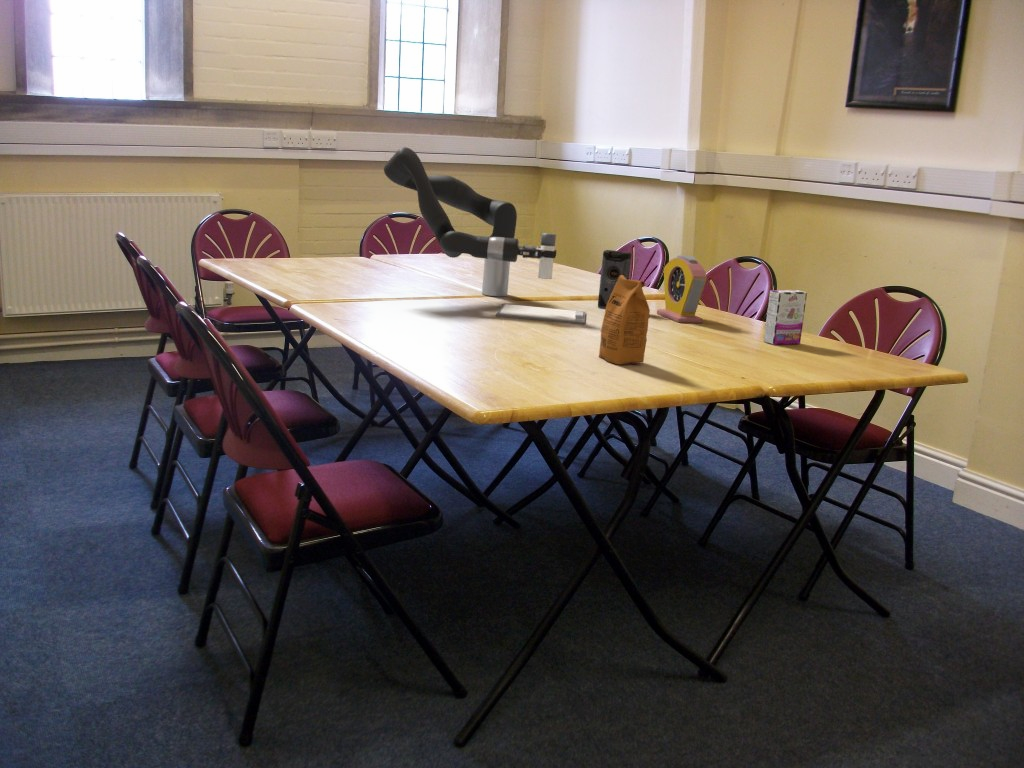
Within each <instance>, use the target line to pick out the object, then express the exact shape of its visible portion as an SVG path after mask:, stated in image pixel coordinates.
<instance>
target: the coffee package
mask: <svg viewBox="0 0 1024 768" xmlns="http://www.w3.org/2000/svg"><path fill="white" fill-rule="evenodd" d="M645 286H646V284H645V282H644V281H643V280H636V279H630V278H629V279H628V280H627V279H626V278H625V277H624V276H623V275H620V276H619V278H618V281H617V283H616V285H615V286H614V289H613V291H612V293H611V295H610V298H609V300H608V303H607V306H606V309H604V315H603V318H602V319H603V320H602V324H601V328H600V343H599V352H598V353H599V354H598V358H602V359H604V360H605V361H606V362H607V363H611V364H615V365H619V366H621V365H622V366H623V365H627V364H638V363H644V360H645V353H646V346H647V341H648V340H647V336H648V335H647V333H648V331H649V330H648V327H649V318H650V311H651V310H650V307H649V303H648V300H647V298H646V296H645V294H644V290H643V287H644V288H645Z"/></svg>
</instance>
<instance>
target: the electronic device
mask: <svg viewBox="0 0 1024 768" xmlns="http://www.w3.org/2000/svg"><path fill="white" fill-rule="evenodd" d="M631 259H632V252H629V251H621V250H613V249H612V250H611V249H605V250H603V252H602V260H601V270H600V279H599V289H598V300H597V308H598V309H603V310H606V306H607V303H608V300H609V298H610V295H611V293H612V291H613V289H614V286H615V285H616V283H617V281H618V278H619V276H620V275H623V276H624V277H625V278H626V279H627V280H628V279H629V280H630V274H631V262H632V261H631Z"/></svg>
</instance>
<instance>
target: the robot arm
mask: <svg viewBox="0 0 1024 768" xmlns="http://www.w3.org/2000/svg"><path fill="white" fill-rule="evenodd" d="M383 172H384V175H385V176H386V177H387V179H388V180H390V181H391V182H392V183H394V184H397V185H399V186H401V187H404V188H407V189H410V190H412V191H416V193H417V200H418V208H419V211H420V214H421V216H422V218H423V220H424V221H425V223H426V224H427V227H429V229H430V230H431V232H432V233H433V235H434V237H435V238H436V240H437V242H438V244H439V246H440V248H441V250H442V251H443V253H444V254H445V255H446V256H447V257H449V258H452V259H453V258H458V257H460V256H461V255H463V254H466V255H469V256H471V257H473V258H476V259H483V260H484V263H483V275H482V286H481V287H482V289H481V294H482V295H484V296H485V295H486V296H490V297H491V296H492V297H507V296H508V292H509V279H510V269H511V268H510V266H511V263H515V262H517V260H518V256H521V257H522V258H523V259H529V258H530V259H540V258H543V256H544V257H545V258H554V259H555V258H556V256H557V250H556V249H554V251H547V250H543V249H541V246H540V247H539V246H538V245H530V244H524V245H523V246H520V245H519V243H520V241H519V239H518V238H516V237H515V235H516V228H517V219H518V215H517V214H518V213H517V209H516V206H515V205H514V204H513V203H511V202H508V201H504V200H499V199H498V200H496V199H492V198H489V197H486V196H484V195H481V194H480V193H477V191H475V190H474V189H473V188H472V187H471V186H470V185H468V184H467V183H465V181H461V180H460V179H458V178H456V177H454V176H452V175H445V174H433V175H432V174H431V175H427V172H426V170H425V167H424V164H423V163H422V160H421V159H420V157H419V155H418V154H417V152H416V151H414V150H412V148H409V147H407V146H403V147H400V148H399V149H398V150H396V152H395V153H394V154H393V155H392V157H390V158H389V160H388V161H387V162H386V164H385V165H384V167H383ZM440 202H441V203H443V204H445V205H448V206H449V207H451V208H452V207H453V208H455V209H456V210H460V211H463V212H466V213H468V214H472V215H473V216H475V217H476V218H478V219H481V220H482V221H483V222H485V223H486V224H488V225H489V226H491V227H493V228H492V233H491V235H490V236H484V235H474V234H470V233H466V232H461V231H457V230H455V228H454V226H453V225H452V223H451V221H450V218H449V216H448V214H447V213H446V211H445V210H444V208H443V206H442V205H441V203H440Z"/></svg>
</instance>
